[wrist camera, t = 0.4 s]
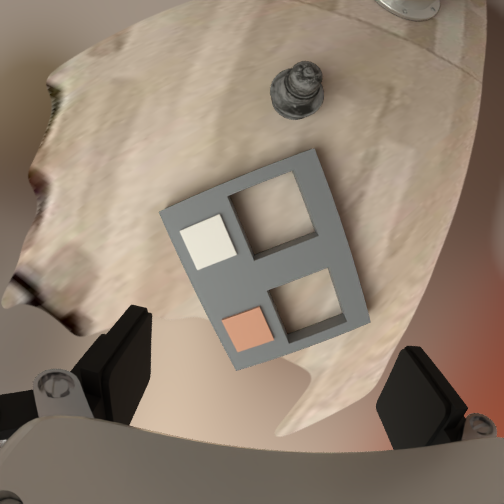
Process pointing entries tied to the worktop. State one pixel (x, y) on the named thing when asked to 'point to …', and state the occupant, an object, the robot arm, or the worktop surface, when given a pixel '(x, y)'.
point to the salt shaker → (297, 91)
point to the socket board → (264, 264)
